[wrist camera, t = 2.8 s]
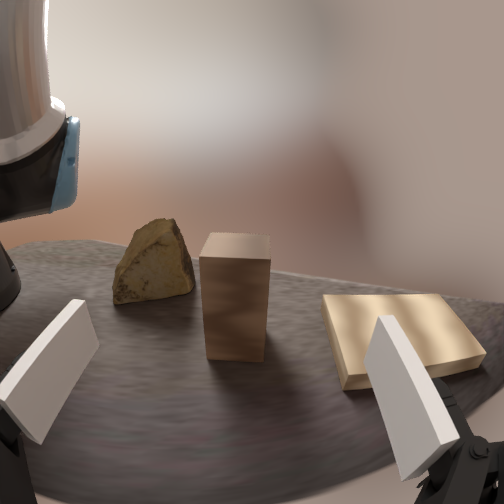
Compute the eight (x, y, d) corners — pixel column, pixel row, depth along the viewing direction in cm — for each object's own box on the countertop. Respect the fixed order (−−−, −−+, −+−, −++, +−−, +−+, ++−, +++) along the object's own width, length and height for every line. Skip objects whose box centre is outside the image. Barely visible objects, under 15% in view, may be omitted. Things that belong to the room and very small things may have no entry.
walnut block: (206, 359, 24) (199, 256, 20) (214, 325, 28) (210, 232, 24) (263, 362, 24) (270, 259, 20) (263, 327, 28) (269, 234, 24)
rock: (90, 301, 26) (174, 298, 26) (93, 226, 28) (172, 213, 28) (134, 308, 37) (201, 304, 36) (134, 249, 39) (198, 242, 38)
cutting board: (342, 390, 20) (348, 374, 19) (320, 309, 31) (323, 294, 30) (478, 367, 20) (486, 353, 19) (433, 306, 31) (438, 293, 30)
